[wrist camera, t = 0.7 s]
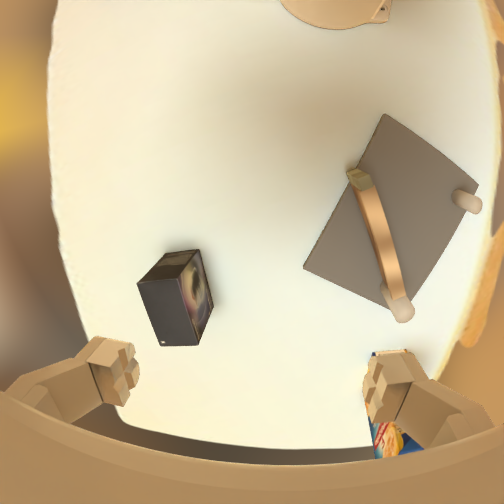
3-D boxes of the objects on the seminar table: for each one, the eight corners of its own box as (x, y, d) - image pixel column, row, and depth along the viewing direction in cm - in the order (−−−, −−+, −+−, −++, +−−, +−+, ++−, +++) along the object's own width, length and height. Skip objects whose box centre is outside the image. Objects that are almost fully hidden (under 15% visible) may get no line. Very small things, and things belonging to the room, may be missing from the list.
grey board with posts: (383, 114, 34) (407, 109, 26) (475, 183, 35) (509, 196, 27) (303, 265, 43) (306, 296, 35) (399, 311, 45) (416, 344, 36)
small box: (216, 307, 48) (200, 347, 38) (181, 309, 49) (159, 348, 39) (201, 247, 44) (178, 279, 35) (163, 253, 45) (133, 283, 36)
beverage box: (362, 391, 52) (378, 482, 32) (372, 351, 48) (399, 452, 28) (392, 387, 51) (416, 475, 31) (405, 348, 47) (442, 442, 27)
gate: (392, 274, 41) (407, 296, 35) (380, 279, 41) (393, 302, 35) (357, 167, 36) (371, 173, 30) (344, 173, 36) (355, 179, 30)
